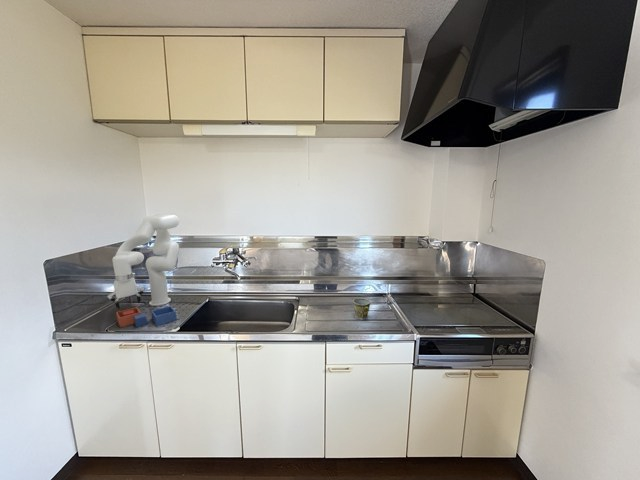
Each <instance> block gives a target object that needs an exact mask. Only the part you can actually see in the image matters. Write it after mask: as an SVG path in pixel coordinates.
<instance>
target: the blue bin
mask: <svg viewBox="0 0 640 480" xmlns="http://www.w3.org/2000/svg"><path fill="white" fill-rule="evenodd" d="M150 313H151V320H152V322H153V323H154V324H155V326H156V327H159V326H161V325H164V324H169V323H172V322H175V321H177V311H176V310H175V308H173V307H172V306H171V305H169V306H165V307H160V308H157V309H154V310H153V309H152V310H151V311H150Z"/></svg>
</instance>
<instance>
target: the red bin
mask: <svg viewBox="0 0 640 480" xmlns="http://www.w3.org/2000/svg"><path fill="white" fill-rule="evenodd" d="M129 310H133V311H134V312H135V314H131V315H127V316H123V313H122V312H125V311H129ZM140 314H142V312H141V311H140V309H139V307H137V306H136V307H132V308H127V309H123V310H119V311H115V315H116V321H117V323H118V326H119V328H123V327H128V326H130V325H135V321H134V316H136V315H140Z"/></svg>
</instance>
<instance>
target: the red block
mask: <svg viewBox="0 0 640 480" xmlns="http://www.w3.org/2000/svg"><path fill="white" fill-rule="evenodd" d="M122 313H123V316H127V315H131V314H135V312H134V311H133V310H129V311H125V312H122Z"/></svg>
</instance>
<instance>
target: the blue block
mask: <svg viewBox="0 0 640 480" xmlns="http://www.w3.org/2000/svg"><path fill="white" fill-rule="evenodd" d="M134 321H135V323H134V325H135V327H136V328H140V327H143V326H147V325H148V319H147V315H146V314H145V313H141V314H140V315H136V316H134Z"/></svg>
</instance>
